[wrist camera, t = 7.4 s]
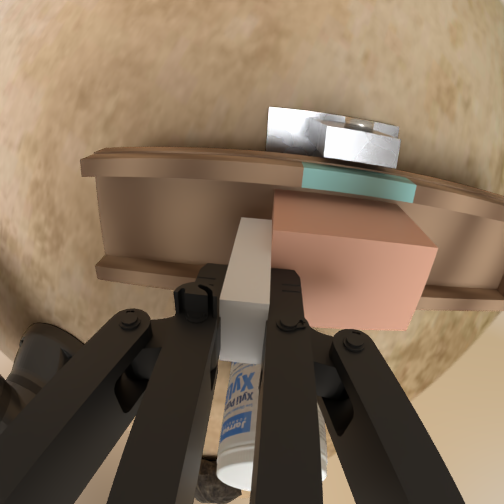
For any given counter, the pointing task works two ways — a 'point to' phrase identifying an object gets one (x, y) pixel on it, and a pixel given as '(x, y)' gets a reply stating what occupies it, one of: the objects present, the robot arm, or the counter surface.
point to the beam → (261, 207)
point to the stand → (332, 137)
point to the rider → (351, 259)
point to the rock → (213, 485)
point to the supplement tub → (246, 428)
